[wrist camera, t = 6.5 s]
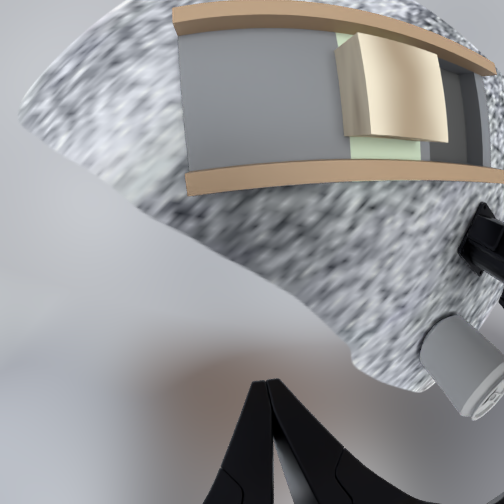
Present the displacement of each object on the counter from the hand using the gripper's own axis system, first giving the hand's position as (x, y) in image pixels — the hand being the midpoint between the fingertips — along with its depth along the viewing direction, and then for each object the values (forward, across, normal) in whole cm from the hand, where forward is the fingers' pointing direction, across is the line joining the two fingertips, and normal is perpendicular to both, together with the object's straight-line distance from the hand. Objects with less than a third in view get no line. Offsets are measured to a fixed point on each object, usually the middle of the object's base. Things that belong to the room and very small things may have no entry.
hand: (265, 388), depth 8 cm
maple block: (+10, -10, -11) cm, 18 cm away
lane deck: (+13, -10, -11) cm, 20 cm away
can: (+13, -23, +14) cm, 30 cm away
